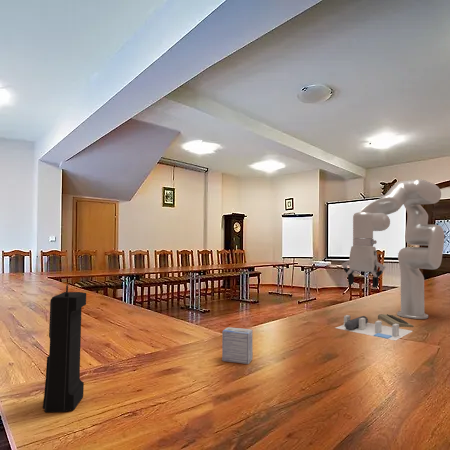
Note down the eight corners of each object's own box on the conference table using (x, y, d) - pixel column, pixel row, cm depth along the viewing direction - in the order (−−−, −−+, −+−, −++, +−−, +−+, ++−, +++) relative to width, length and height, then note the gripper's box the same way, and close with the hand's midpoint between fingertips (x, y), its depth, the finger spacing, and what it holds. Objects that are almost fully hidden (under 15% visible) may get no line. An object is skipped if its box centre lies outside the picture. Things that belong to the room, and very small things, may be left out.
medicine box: (252, 359, 99) (253, 329, 100) (248, 365, 95) (249, 333, 95) (226, 356, 102) (227, 326, 102) (221, 361, 98) (222, 330, 98)
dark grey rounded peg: (360, 323, 140) (360, 315, 140) (367, 324, 137) (367, 316, 138) (343, 329, 130) (343, 321, 130) (351, 331, 127) (351, 322, 128)
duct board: (355, 322, 145) (355, 310, 145) (413, 333, 129) (413, 320, 129) (334, 330, 132) (334, 317, 132) (395, 343, 116) (395, 328, 117)
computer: (414, 330, 135) (414, 322, 135) (392, 330, 135) (392, 321, 135) (396, 321, 151) (396, 313, 151) (377, 320, 151) (377, 313, 151)
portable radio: (56, 395, 76) (60, 280, 77) (85, 394, 76) (88, 280, 77) (40, 413, 68) (45, 285, 69) (72, 412, 68) (76, 285, 69)
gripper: (388, 243, 136) (388, 287, 135) (346, 242, 148) (346, 282, 147) (381, 243, 130) (381, 289, 130) (338, 242, 143) (338, 284, 142)
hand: (362, 285), depth 138 cm, fingers open, 9 cm apart
